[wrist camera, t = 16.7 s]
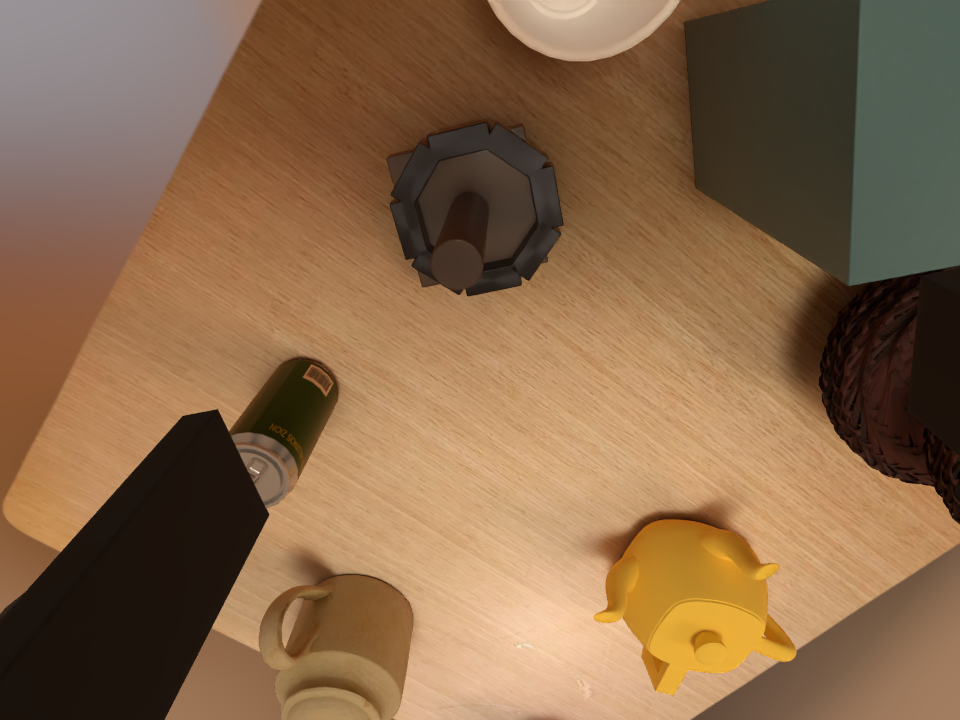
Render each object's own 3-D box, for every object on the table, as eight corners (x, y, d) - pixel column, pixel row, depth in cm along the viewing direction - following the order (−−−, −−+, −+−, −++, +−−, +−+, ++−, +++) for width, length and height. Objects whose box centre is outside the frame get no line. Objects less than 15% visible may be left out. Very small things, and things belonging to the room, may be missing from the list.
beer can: (293, 342, 46) (229, 426, 36) (352, 380, 48) (308, 471, 37) (261, 391, 48) (192, 484, 38) (319, 426, 50) (268, 525, 39)
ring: (378, 145, 38) (373, 149, 37) (541, 105, 37) (543, 107, 36) (422, 299, 43) (419, 307, 41) (569, 268, 42) (572, 275, 40)
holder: (389, 154, 40) (339, 193, 28) (522, 123, 39) (530, 149, 27) (424, 281, 44) (393, 363, 32) (546, 256, 43) (563, 331, 31)
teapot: (732, 479, 51) (781, 567, 42) (770, 588, 56) (821, 687, 47) (578, 529, 54) (593, 621, 45) (628, 628, 59) (650, 728, 50)
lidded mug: (248, 602, 59) (171, 760, 46) (304, 534, 55) (238, 686, 41) (375, 668, 63) (339, 833, 49) (436, 609, 59) (416, 772, 45)
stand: (684, 21, 36) (861, -22, 18) (860, -22, 35) (1237, -116, 17) (695, 188, 40) (848, 287, 22) (853, 154, 39) (1150, 230, 21)
